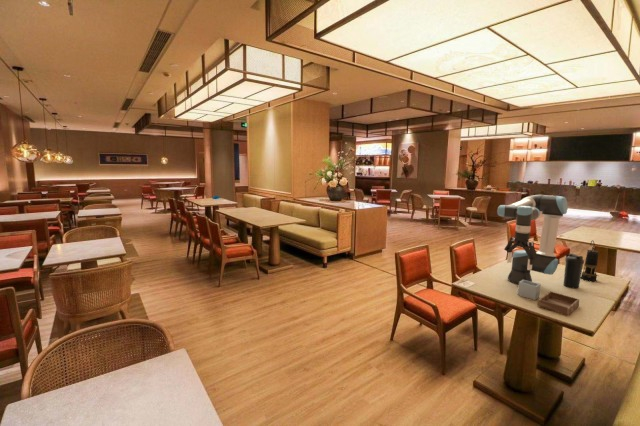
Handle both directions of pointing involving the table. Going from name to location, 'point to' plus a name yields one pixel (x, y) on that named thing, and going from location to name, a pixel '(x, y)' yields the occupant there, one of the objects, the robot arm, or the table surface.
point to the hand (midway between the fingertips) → (518, 265)
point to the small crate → (529, 289)
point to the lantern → (590, 265)
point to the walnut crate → (558, 303)
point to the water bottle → (573, 271)
